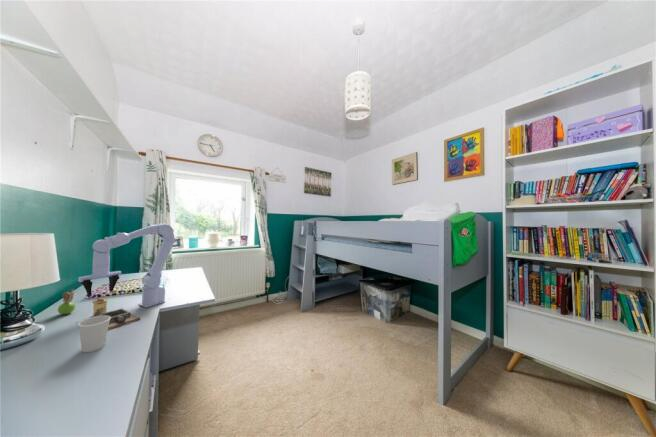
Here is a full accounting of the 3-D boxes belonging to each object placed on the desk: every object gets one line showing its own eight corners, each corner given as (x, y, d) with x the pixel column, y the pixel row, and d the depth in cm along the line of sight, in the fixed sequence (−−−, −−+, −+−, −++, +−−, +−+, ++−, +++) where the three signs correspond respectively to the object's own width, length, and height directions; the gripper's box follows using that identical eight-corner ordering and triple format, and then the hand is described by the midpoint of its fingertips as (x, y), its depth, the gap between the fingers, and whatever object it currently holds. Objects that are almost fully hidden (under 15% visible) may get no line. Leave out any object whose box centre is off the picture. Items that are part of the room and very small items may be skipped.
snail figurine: (64, 317, 103) (65, 291, 103) (54, 315, 105) (55, 289, 105) (79, 312, 109) (80, 287, 109) (69, 310, 110) (70, 286, 110)
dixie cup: (89, 356, 76) (90, 326, 76) (69, 352, 78) (70, 324, 78) (116, 342, 84) (117, 316, 84) (97, 340, 86) (98, 314, 86)
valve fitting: (104, 312, 110) (105, 296, 110) (109, 314, 108) (110, 298, 108) (89, 315, 106) (90, 299, 106) (94, 318, 103) (95, 301, 103)
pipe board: (123, 312, 111) (123, 306, 111) (139, 319, 103) (140, 313, 103) (89, 321, 100) (89, 314, 100) (105, 330, 93) (105, 323, 93)
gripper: (117, 261, 115) (116, 287, 115) (76, 266, 102) (75, 296, 102) (123, 263, 112) (122, 290, 112) (82, 268, 99) (81, 299, 99)
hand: (100, 293), depth 107 cm, fingers open, 7 cm apart
